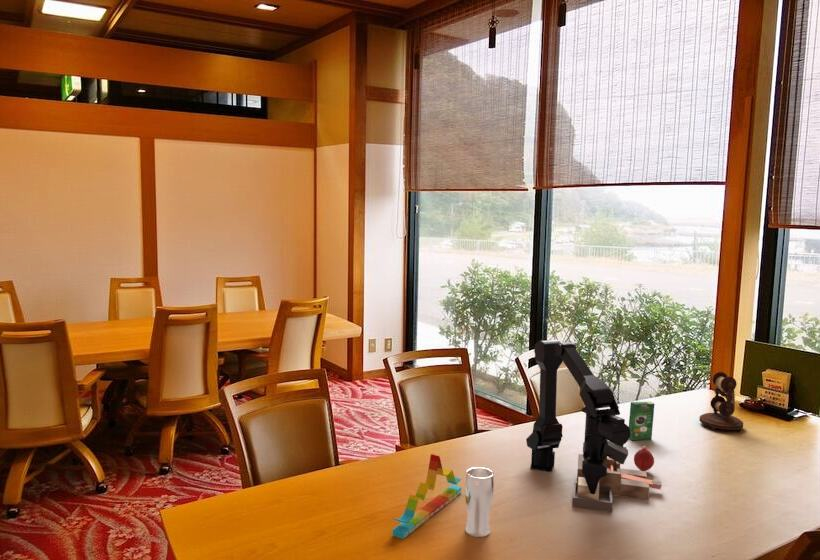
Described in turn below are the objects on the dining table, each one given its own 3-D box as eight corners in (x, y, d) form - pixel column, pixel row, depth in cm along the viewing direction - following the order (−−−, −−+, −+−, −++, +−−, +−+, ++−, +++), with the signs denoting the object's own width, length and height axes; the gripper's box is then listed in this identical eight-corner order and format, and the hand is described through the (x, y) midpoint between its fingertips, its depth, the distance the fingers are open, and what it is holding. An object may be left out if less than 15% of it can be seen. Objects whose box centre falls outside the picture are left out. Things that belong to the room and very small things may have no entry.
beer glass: (461, 524, 163) (463, 467, 161) (488, 523, 164) (491, 466, 162) (466, 538, 156) (468, 478, 154) (494, 537, 157) (497, 478, 155)
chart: (403, 540, 155) (405, 480, 153) (392, 536, 157) (393, 477, 155) (462, 494, 181) (463, 442, 179) (451, 491, 183) (453, 439, 181)
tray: (572, 506, 174) (572, 497, 174) (573, 490, 184) (573, 482, 184) (611, 512, 171) (612, 503, 171) (610, 496, 181) (611, 487, 181)
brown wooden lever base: (576, 490, 184) (577, 468, 183) (577, 474, 195) (578, 454, 194) (648, 500, 179) (650, 477, 178) (645, 483, 190) (646, 462, 189)
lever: (587, 475, 185) (588, 468, 185) (587, 466, 192) (589, 459, 191) (661, 492, 180) (663, 485, 180) (659, 482, 187) (660, 476, 186)
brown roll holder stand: (750, 434, 234) (755, 380, 232) (709, 433, 235) (713, 379, 232) (731, 420, 249) (735, 369, 247) (692, 419, 249) (696, 368, 247)
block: (577, 500, 176) (578, 484, 175) (577, 492, 181) (578, 476, 181) (598, 503, 174) (599, 487, 174) (598, 495, 180) (599, 479, 179)
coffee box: (647, 436, 229) (650, 400, 228) (652, 439, 226) (655, 403, 225) (627, 438, 227) (629, 401, 226) (631, 441, 225) (634, 404, 223)
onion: (654, 476, 195) (656, 450, 194) (634, 474, 196) (636, 449, 195) (651, 469, 201) (653, 444, 200) (631, 467, 202) (633, 442, 201)
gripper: (629, 448, 164) (625, 507, 166) (625, 424, 182) (622, 478, 184) (583, 442, 167) (580, 500, 169) (584, 420, 185) (581, 472, 187)
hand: (592, 487), depth 177 cm, fingers open, 8 cm apart
